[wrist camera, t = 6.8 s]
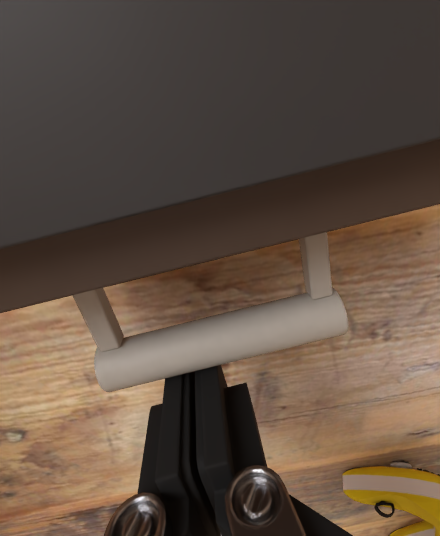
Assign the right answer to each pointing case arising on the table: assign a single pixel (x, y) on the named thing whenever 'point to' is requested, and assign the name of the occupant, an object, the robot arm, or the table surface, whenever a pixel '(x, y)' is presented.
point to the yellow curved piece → (398, 494)
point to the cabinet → (199, 99)
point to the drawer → (215, 247)
